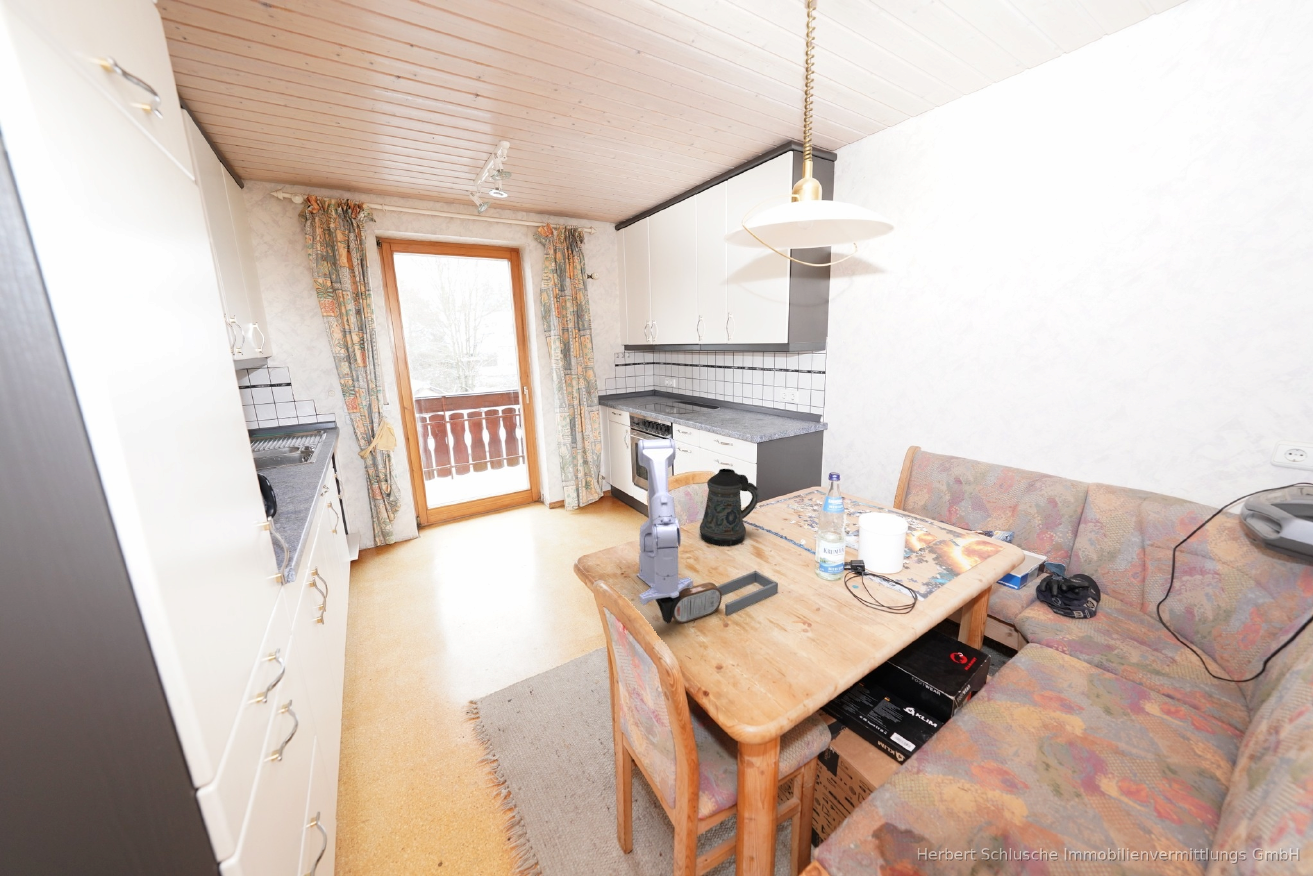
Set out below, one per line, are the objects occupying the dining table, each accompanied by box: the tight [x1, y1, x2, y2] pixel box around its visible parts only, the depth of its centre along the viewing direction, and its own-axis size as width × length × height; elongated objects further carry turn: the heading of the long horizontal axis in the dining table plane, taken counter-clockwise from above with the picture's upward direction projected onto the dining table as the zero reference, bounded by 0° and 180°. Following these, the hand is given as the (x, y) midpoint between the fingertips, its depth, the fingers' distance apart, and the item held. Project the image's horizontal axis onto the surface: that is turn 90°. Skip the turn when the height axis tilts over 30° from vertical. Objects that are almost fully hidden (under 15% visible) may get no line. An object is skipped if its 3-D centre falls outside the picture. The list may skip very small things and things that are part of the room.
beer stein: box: [699, 468, 760, 547], centre depth 162 cm, size 16×19×25 cm
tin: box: [672, 581, 723, 624], centre depth 117 cm, size 15×3×8 cm, turn 116°
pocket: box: [716, 570, 779, 616], centre depth 127 cm, size 9×19×3 cm, turn 123°
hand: (667, 620), depth 113 cm, fingers closed
